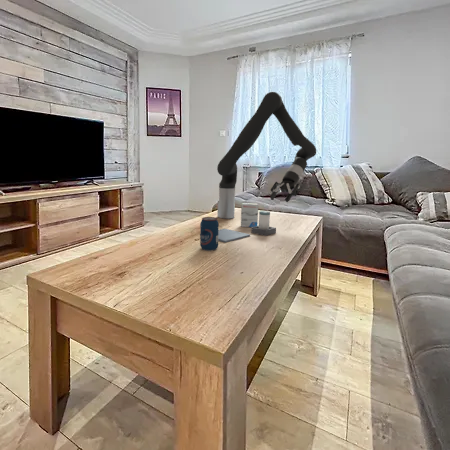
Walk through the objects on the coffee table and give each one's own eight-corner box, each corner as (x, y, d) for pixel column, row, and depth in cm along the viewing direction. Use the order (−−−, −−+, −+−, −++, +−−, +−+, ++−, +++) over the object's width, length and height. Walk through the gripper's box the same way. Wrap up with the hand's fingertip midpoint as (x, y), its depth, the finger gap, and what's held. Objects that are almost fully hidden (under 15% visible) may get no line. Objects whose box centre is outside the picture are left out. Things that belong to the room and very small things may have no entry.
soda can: (196, 249, 119) (197, 218, 117) (205, 245, 126) (205, 216, 123) (213, 252, 117) (213, 220, 114) (221, 247, 123) (221, 217, 120)
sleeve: (251, 232, 148) (251, 227, 148) (262, 229, 154) (262, 225, 154) (265, 235, 143) (265, 230, 142) (275, 233, 149) (276, 227, 148)
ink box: (257, 225, 164) (258, 203, 162) (257, 227, 159) (258, 204, 157) (241, 224, 165) (241, 202, 163) (240, 226, 160) (241, 204, 158)
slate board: (199, 235, 141) (199, 233, 141) (224, 230, 152) (224, 228, 152) (225, 242, 130) (225, 240, 130) (250, 236, 141) (250, 234, 141)
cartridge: (256, 232, 148) (257, 211, 146) (262, 231, 152) (263, 210, 150) (264, 234, 145) (265, 213, 143) (271, 232, 149) (272, 212, 146)
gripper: (278, 169, 161) (263, 193, 155) (303, 171, 151) (288, 196, 146) (283, 179, 166) (269, 203, 160) (307, 181, 156) (293, 206, 151)
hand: (278, 200), depth 153 cm, fingers open, 8 cm apart
